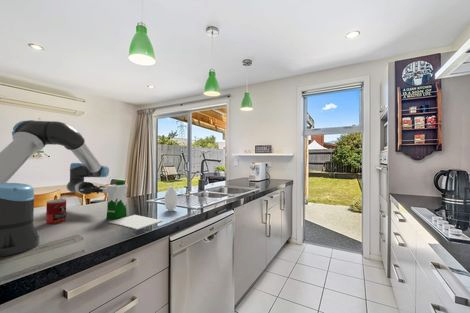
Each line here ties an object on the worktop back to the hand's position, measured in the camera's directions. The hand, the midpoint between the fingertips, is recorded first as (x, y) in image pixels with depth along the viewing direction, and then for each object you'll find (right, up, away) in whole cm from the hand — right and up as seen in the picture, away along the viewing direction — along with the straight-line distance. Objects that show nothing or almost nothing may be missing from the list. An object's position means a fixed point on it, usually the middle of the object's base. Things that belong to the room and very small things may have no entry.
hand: (107, 190), depth 121 cm
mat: (+23, -14, -13) cm, 29 cm away
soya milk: (+8, -14, -5) cm, 17 cm away
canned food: (-18, -14, -14) cm, 26 cm away
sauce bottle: (+33, -15, +11) cm, 38 cm away
